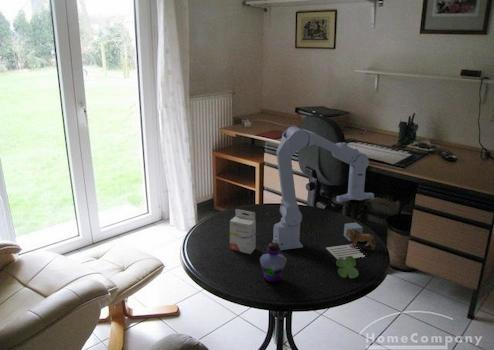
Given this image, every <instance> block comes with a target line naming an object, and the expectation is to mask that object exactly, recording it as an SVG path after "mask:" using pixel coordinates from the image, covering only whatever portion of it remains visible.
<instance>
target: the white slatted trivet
mask: <svg viewBox="0 0 494 350" xmlns="http://www.w3.org/2000/svg"><path fill="white" fill-rule="evenodd" d="M353 246H354V245H352V244H344V245H337V246H336V245H335V246H329V247H325V249H326V250H327V251H328V252H329V253H330V254H331V255H332V256H333V257H334V258H335V259H336V260H337V259H338V258H343V259H345V260H346V257H347V256H351V257H353V258H354V259H359V258H360V257H361V258H366V257H365V255H363V253H361V252H360V251H359V250H360V249H361V248H360V249H356V248H358V247H359V246H358V247H355V248H354V247H353Z"/></svg>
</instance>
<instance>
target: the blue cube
mask: <svg viewBox="0 0 494 350" xmlns="http://www.w3.org/2000/svg"><path fill="white" fill-rule="evenodd" d="M349 228H353V229H355V230H357V231H358V232H359V233H361V234H363V229H364V228H363V226H361V224H359V223H357V222H349V223H344V229H343V236H344V237H345V238H346V240H348V241H349V242H352V241H351V240H350V239H349V238H348V237H347V236H346V231H347V229H349Z"/></svg>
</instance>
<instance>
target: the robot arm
mask: <svg viewBox="0 0 494 350" xmlns="http://www.w3.org/2000/svg"><path fill="white" fill-rule="evenodd" d="M313 145H315V146H317V147H320V148H322V149H325V150H326V151H329V152H331V155H332V157H334V158H336V159H338V160H340V161H341V162H343V163H345V164H348V165H349V172H348V184H347V185H348V186H347V187H348V188H347V193H345V194H341V195H336V199H335V201H336V202H338V203H342V202H346V204H347V206H348V210H349V212H350V213H349V214H350V218H351V219H352V220H357V219H358V216H359V214H360V211H361V209H362V208H363V206H364V205H365V201H364V200H374V199H375V193H373V192H365V182H366V169H367V168H368V167H369V165H370V163H371V162H370V161H369V157H368V156H367V155H366V154H365V153H363V152H361V151H360V150H359V149H358V148H356V147H355V148H353V147H351V146H349V145H348V143H347V142H345V141H344V142H337V143H335V142H332V141H331V140H330V139H326V138H325V137H322V136H321V135H319V134H317V133H315V132H313V131H310V130H307V129H304V128H299V126H297V125H296V126H295V125H292V126H289V127H288V128H287V129H286V130H285V131H284V132H282V136H281V140H280V142H279V143H278V147H277V149H276V152H275V153H276V161H277V168H278V176H279V184H280V193H281V199H280V207H279V214H281V216H282V217H281V218H280V221H279V222H277V223H275V224H274V225H273V231H272V232H273V233H272V234H273V235H272V236H273V239H272V243H278V244H279V247H280V248H281V250H280V251H283V250H284V251H286V250H292V249H301V248H304V245H303V244H302V243H301V242H300V232H301V223H302V220H303V214H302V212H301V211H300V207H299V204H298V201H297V196H296V195H297V194H296V188H295V180H294V172H293V171H294V170H293V162H292V156H294V154H296V153H297V152H299V151H300V150H302V149H303V148H305V147H306V146H308V147H310V146H311V147H312V146H313Z"/></svg>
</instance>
